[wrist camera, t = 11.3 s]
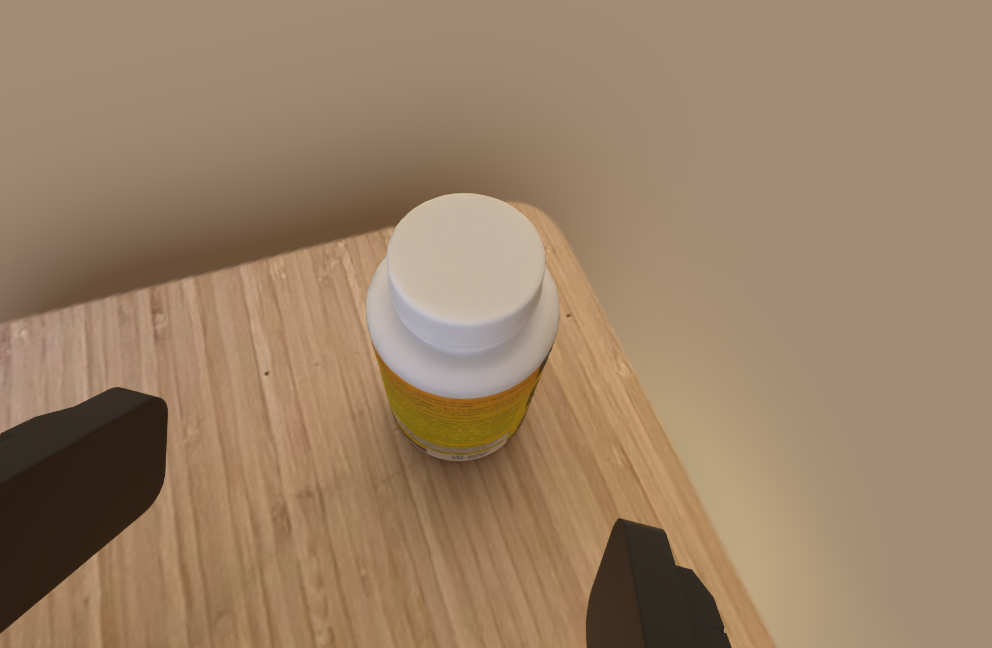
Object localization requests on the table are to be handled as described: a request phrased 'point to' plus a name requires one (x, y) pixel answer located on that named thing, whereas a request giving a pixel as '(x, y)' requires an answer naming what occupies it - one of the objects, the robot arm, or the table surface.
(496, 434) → the supplement bottle
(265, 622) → the table surface
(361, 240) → the table surface
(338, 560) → the table surface
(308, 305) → the table surface
